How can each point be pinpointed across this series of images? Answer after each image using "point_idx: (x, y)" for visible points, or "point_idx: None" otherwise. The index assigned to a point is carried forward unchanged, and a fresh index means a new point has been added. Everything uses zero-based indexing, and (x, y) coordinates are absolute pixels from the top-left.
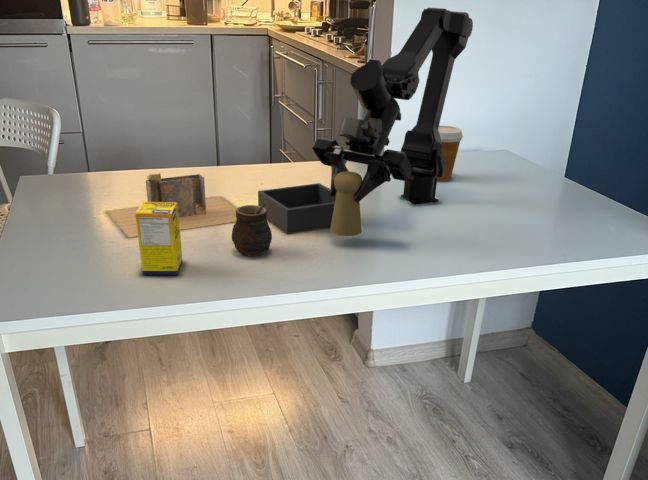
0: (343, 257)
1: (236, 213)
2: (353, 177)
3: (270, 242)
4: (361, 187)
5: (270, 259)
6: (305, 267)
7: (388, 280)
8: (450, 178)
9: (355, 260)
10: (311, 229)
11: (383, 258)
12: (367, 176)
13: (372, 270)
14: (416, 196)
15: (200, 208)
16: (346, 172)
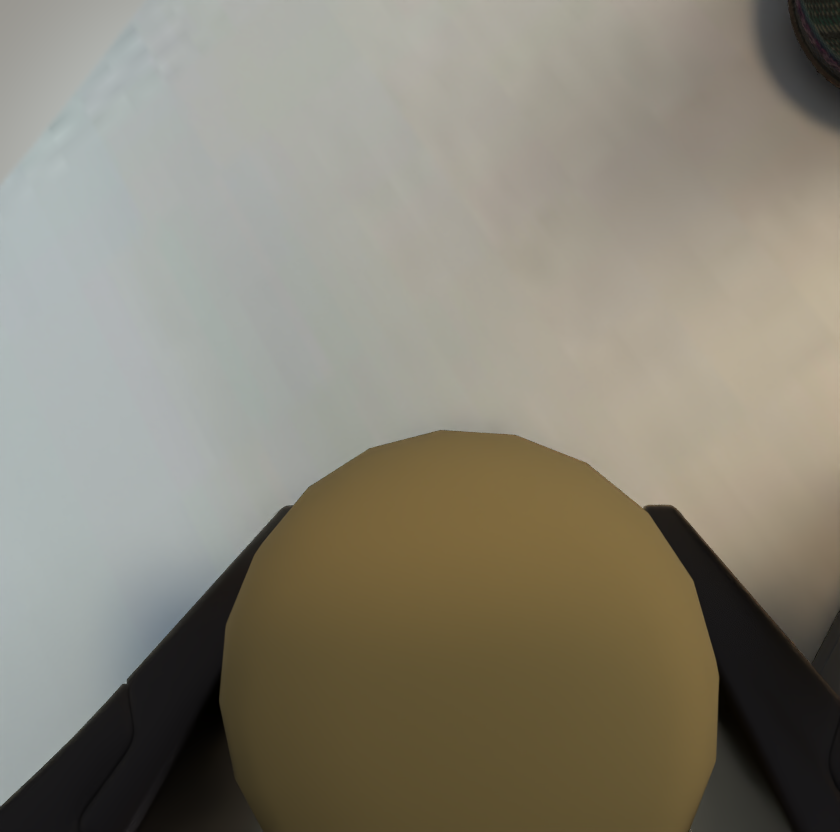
0: (366, 321)
1: None
2: (277, 586)
3: (808, 26)
4: (214, 621)
5: (712, 7)
6: (465, 53)
7: (13, 204)
8: None
9: (284, 327)
10: (834, 621)
11: (165, 460)
12: (88, 797)
13: (138, 264)
14: None
15: None
16: (508, 727)
